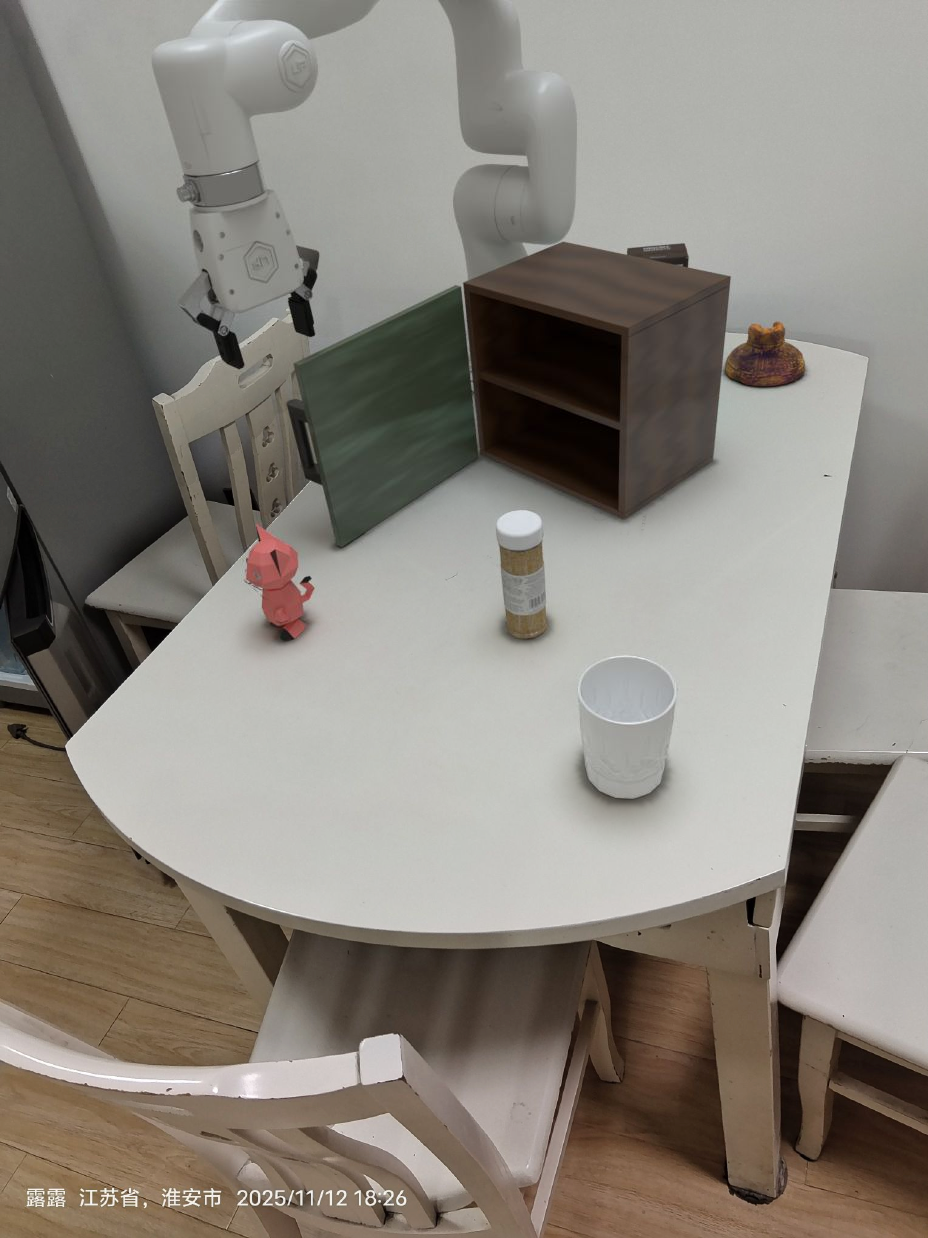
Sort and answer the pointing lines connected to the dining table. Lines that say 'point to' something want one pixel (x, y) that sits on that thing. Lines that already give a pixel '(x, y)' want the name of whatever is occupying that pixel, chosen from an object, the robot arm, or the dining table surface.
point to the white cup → (626, 723)
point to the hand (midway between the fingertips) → (271, 349)
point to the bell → (765, 358)
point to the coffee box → (663, 253)
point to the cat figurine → (278, 583)
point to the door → (387, 413)
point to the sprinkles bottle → (522, 572)
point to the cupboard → (598, 371)
